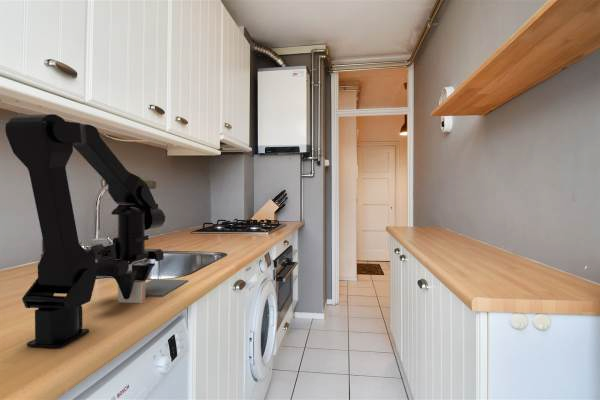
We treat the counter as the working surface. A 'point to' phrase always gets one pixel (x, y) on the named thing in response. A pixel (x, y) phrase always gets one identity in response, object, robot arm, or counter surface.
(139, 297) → the tile
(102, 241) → the beverage can
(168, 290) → the mat
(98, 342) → the counter surface
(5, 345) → the counter surface
